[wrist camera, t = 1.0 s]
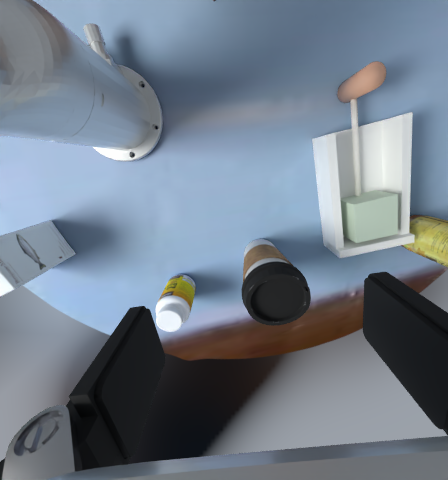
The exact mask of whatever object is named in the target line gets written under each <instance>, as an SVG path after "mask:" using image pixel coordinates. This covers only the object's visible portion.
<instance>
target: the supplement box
mask: <svg viewBox="0 0 448 480" xmlns="http://www.w3.org/2000/svg"><path fill="white" fill-rule="evenodd" d="M75 254H76V253H75V252H74V250H73V249H72V248H71V247H70V246H69V244H68V243H67V242H66V240H65V239H64V238H63V236H62V235H61V234H60V232H59V231H58V230H57V228H56V227H55V225H54V224H53V222H52V221H51V220H49V221H46V222H43V223H40V224H37V225H34V226H30V227H27V228H24V229H21V230H18V231H15V232H11V233H8V234H5V235H2V236H0V297H2V296H4V295H5V294H7V293H9V292H11V291H13V290H15V289H17V288H18V287H20V286H22V285H24V284H25V283H27V282H29V281H30V280H32V279H34V278H36V277H37V276H39V275H41V274H43V273H44V272H46V271H48V270H49V269H51V268H53V267H54V266H56V265H58V264H60V263H61V262H63V261H65V260H67V259H68V258H70V257H72V256H74V255H75Z"/></svg>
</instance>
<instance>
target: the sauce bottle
mask: <svg viewBox="0 0 448 480" xmlns="http://www.w3.org/2000/svg"><path fill="white" fill-rule="evenodd" d="M409 233H411V234H413V235H415V236H414V243H409V244H404V245H401V246H403V247H405V248H406V249H408V250H410V251H412V252H414V253H417V254H419V255H421V256H423V257H426V258H428V259H430V260H433V261H435V262H437V263H439V264H441V265H444V266H446V267H448V221H447V220H443V219H439V218H434V217H430V216H422V215H413V216H410V223H409Z"/></svg>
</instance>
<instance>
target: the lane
mask: <svg viewBox="0 0 448 480" xmlns="http://www.w3.org/2000/svg"><path fill="white" fill-rule="evenodd" d="M412 113H413V112H411V113H407V114H403V115H400V116H396V117H392V118H389V119H385V120H382V121H378V122H374V123H370V124H367V125H363V126H359V127H358V133H359V155H360V177H361V193H365V192H369V191H374V190H377V191H382V192H388V193H394V194H398V234H396V235H391V236H387V237H382V238H378V239H373V240H368V241H364V242H359V243H355V242H353V241H352V240H350V239H348V238H347V237H345V236H344V235H343V227H342V214H341V201H340V198H344V197H349V196H353V195H355V179H354V160H353V142H352V128H351V129H348V130H344V131H340V132H336V133H332V134H328V135H324V136H321V137H317V138H314V139H312V142H313V151H314V161H315V170H316V179H317V188H318V197H319V207H320V216H321V225H322V234H323V244H324V246H326V247H327V248H328V249H329V250H330V251H332V252H333V253H334V254H335V255H336V256H338V257H339V258H344V257H349V256H353V255H358V254H363V253H367V252H372V251H377V250H381V249H386V248H391V247H395V246H400V245H404V244H409V243H414V236H415V235H413V234H411V233H409V223H410V186H411V149H412Z"/></svg>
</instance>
